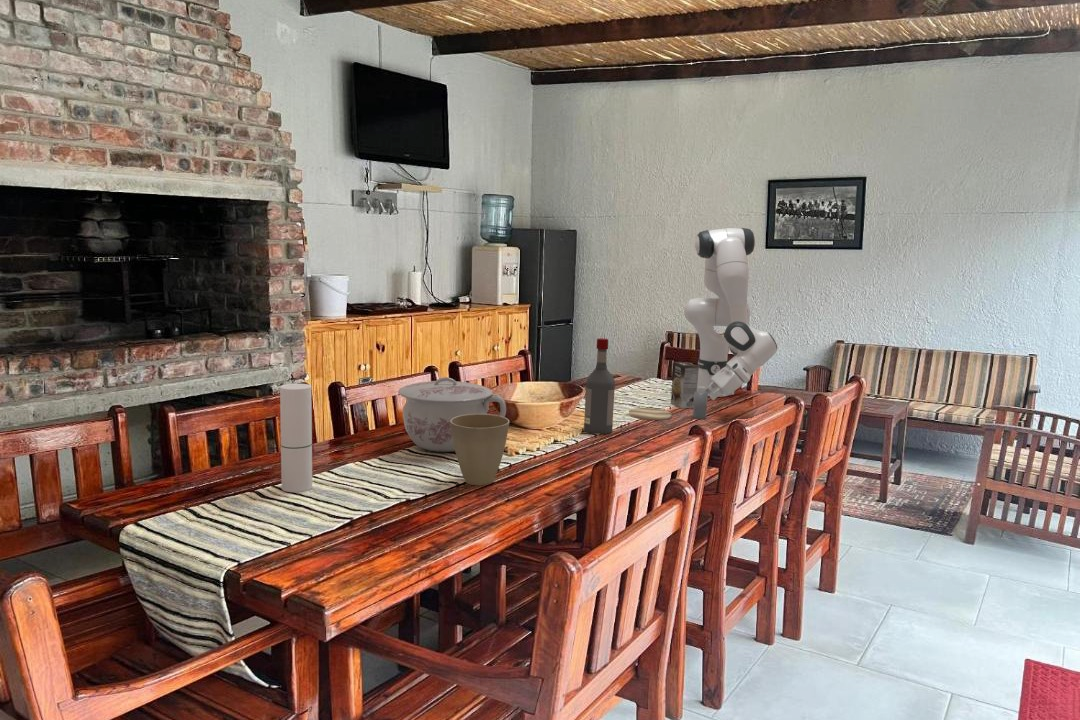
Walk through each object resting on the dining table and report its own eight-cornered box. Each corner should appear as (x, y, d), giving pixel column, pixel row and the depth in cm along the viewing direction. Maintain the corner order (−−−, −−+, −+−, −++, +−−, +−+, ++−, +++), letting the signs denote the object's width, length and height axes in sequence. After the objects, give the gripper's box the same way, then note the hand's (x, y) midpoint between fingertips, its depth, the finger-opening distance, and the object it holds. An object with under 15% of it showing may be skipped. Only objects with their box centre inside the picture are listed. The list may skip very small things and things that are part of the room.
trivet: (627, 409, 293) (627, 407, 293) (668, 411, 293) (668, 408, 292) (630, 419, 278) (630, 416, 278) (674, 421, 278) (674, 418, 278)
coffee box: (669, 403, 307) (672, 361, 305) (685, 402, 309) (687, 361, 306) (681, 408, 299) (683, 365, 296) (696, 407, 301) (699, 365, 298)
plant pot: (477, 468, 215) (479, 410, 212) (519, 481, 206) (521, 420, 203) (436, 481, 204) (437, 419, 201) (479, 494, 194) (480, 430, 192)
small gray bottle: (691, 415, 287) (693, 385, 286) (704, 416, 287) (706, 386, 285) (693, 418, 283) (696, 388, 281) (707, 419, 283) (709, 388, 281)
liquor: (612, 427, 265) (617, 338, 260) (612, 434, 256) (617, 341, 251) (584, 426, 266) (589, 336, 261) (583, 433, 257) (587, 340, 252)
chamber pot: (378, 444, 236) (378, 374, 232) (451, 430, 255) (452, 365, 252) (437, 466, 216) (439, 390, 213) (512, 449, 236) (514, 379, 232)
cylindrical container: (310, 481, 199) (309, 383, 195) (313, 490, 193) (312, 388, 189) (280, 484, 197) (279, 384, 193) (282, 493, 190) (280, 390, 186)
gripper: (726, 358, 292) (697, 383, 293) (738, 367, 272) (707, 394, 273) (737, 371, 292) (709, 396, 294) (751, 381, 272) (720, 408, 274)
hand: (708, 395), depth 284 cm, fingers open, 8 cm apart
